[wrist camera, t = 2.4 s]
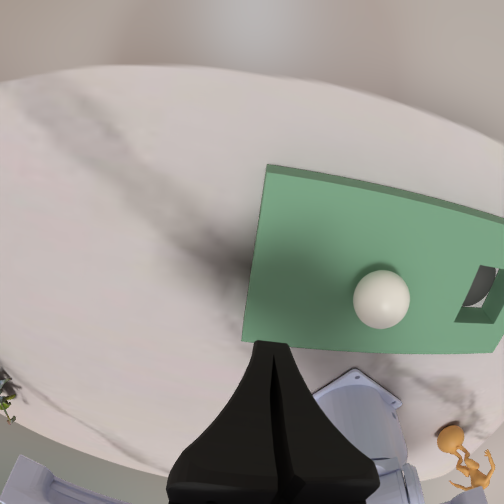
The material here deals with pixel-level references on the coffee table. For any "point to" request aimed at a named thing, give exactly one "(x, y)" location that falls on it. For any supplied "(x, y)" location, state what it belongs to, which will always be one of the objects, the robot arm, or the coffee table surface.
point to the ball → (381, 299)
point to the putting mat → (371, 267)
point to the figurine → (450, 443)
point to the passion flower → (3, 404)
